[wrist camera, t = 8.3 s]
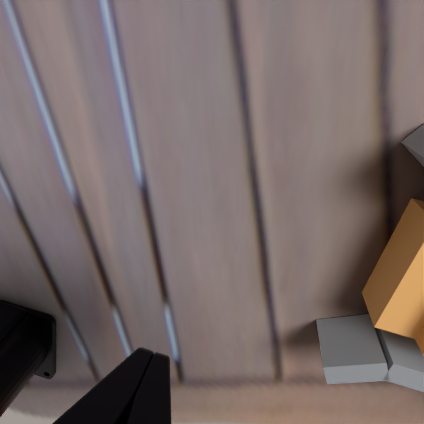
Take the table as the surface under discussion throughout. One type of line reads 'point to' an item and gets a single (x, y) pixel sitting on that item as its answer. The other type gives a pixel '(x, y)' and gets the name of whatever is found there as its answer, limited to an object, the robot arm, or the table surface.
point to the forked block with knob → (372, 336)
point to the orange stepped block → (400, 279)
